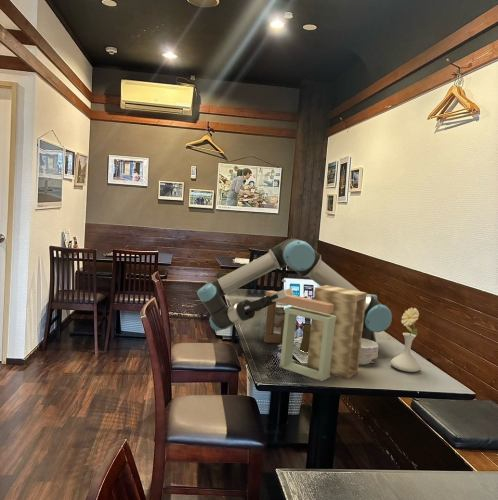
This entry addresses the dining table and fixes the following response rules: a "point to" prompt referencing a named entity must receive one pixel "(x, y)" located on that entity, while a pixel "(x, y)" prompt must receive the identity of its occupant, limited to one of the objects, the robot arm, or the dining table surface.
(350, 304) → the birch stand
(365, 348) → the paper bowls
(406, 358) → the flower in vase
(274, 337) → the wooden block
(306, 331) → the cork
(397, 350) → the dining table surface
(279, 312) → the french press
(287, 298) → the salmon orange bar
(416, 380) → the dining table surface
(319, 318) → the pale green rectangular frame
